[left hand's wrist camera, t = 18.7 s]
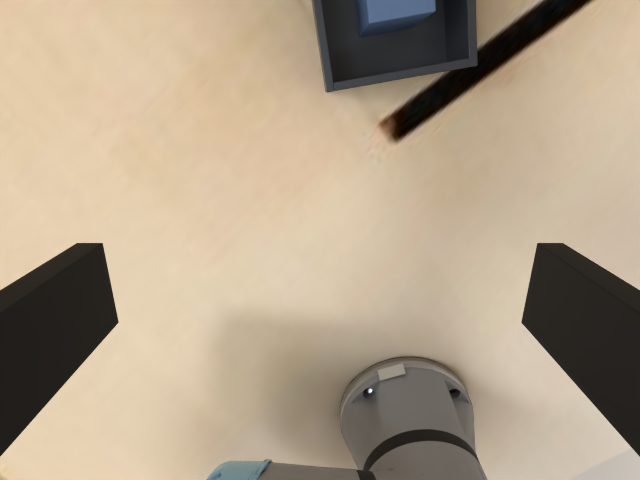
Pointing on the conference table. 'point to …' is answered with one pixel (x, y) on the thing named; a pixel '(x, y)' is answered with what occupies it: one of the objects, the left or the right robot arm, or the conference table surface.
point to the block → (391, 15)
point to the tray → (393, 44)
